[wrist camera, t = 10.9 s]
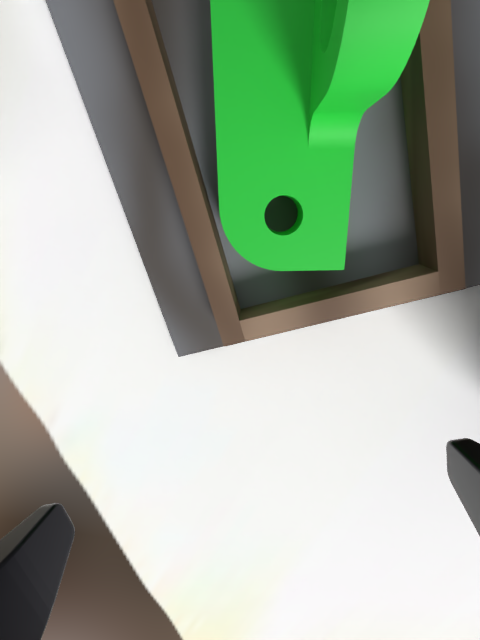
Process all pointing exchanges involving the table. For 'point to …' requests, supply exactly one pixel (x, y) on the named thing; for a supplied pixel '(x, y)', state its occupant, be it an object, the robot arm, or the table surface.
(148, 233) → the seat
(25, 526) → the robot arm
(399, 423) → the table surface
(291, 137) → the mechanical part
